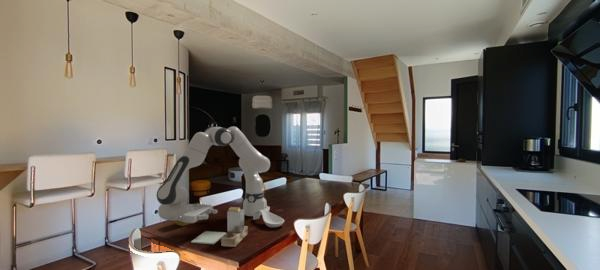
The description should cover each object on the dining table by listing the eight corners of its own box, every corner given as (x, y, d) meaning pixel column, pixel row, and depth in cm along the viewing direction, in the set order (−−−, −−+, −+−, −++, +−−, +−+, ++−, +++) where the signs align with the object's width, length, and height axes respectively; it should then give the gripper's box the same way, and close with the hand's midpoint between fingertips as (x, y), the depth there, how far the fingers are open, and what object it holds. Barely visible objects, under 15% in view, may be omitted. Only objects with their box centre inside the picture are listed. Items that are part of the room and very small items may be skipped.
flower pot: (185, 221, 168) (185, 206, 168) (194, 223, 164) (194, 208, 164) (172, 225, 161) (172, 210, 161) (181, 228, 156) (181, 212, 156)
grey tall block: (231, 227, 144) (231, 206, 144) (244, 228, 143) (244, 207, 143) (227, 231, 139) (227, 209, 139) (240, 232, 138) (240, 209, 138)
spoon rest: (288, 226, 160) (288, 214, 160) (272, 231, 152) (272, 218, 152) (262, 217, 177) (262, 206, 176) (247, 221, 168) (247, 210, 168)
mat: (205, 232, 150) (205, 231, 150) (226, 233, 148) (226, 232, 148) (191, 242, 136) (191, 241, 136) (213, 244, 134) (213, 243, 134)
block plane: (235, 232, 149) (235, 222, 149) (247, 233, 148) (247, 223, 148) (221, 245, 133) (221, 234, 133) (234, 246, 131) (234, 235, 131)
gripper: (176, 212, 136) (202, 214, 133) (198, 202, 156) (221, 203, 153) (176, 225, 136) (202, 227, 133) (198, 213, 156) (221, 214, 153)
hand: (212, 214), depth 144 cm, fingers open, 8 cm apart
